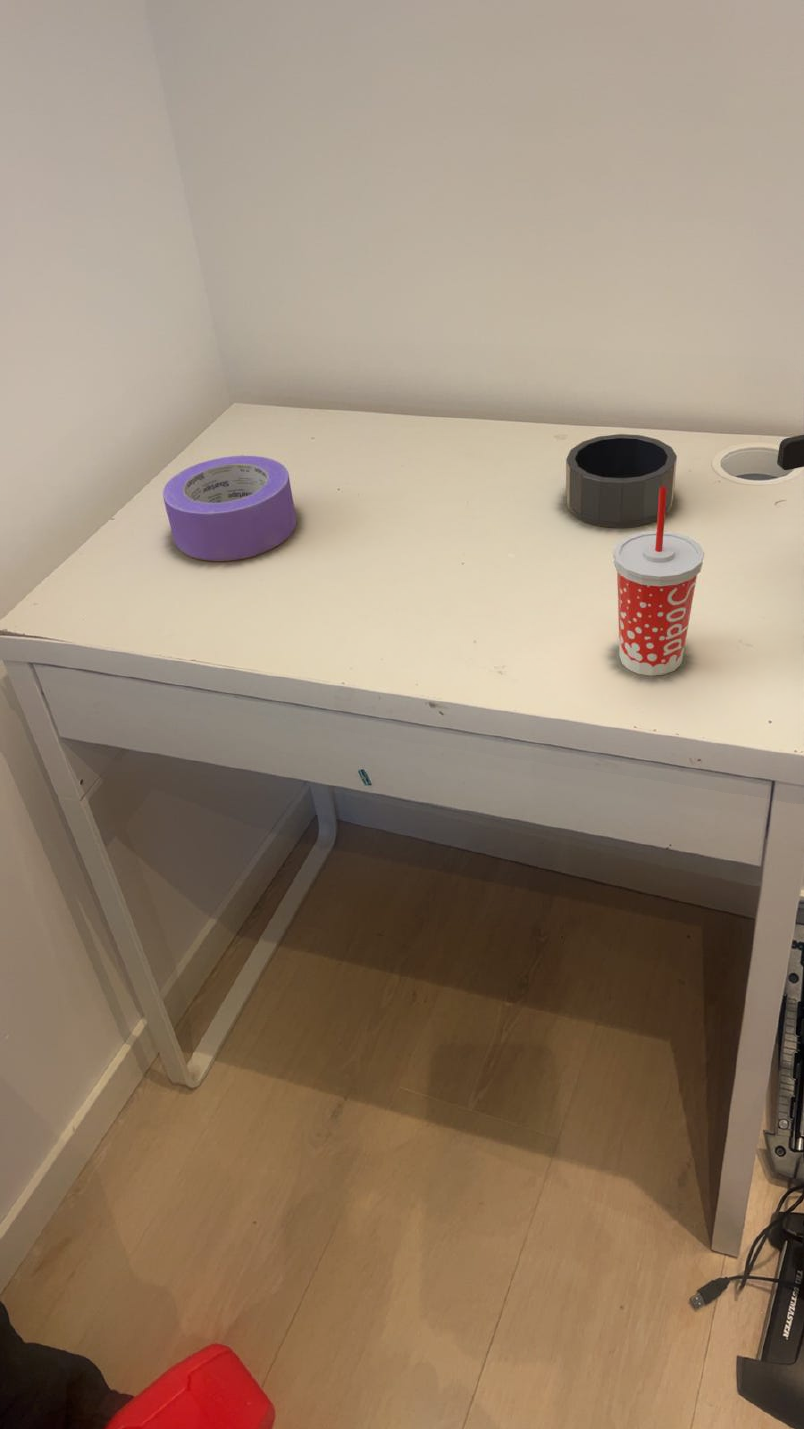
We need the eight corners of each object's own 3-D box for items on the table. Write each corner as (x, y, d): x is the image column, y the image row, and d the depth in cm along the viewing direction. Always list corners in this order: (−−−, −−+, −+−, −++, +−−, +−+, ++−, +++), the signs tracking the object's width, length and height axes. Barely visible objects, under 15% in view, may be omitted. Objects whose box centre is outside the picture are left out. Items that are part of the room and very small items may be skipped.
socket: (657, 473, 100) (660, 429, 97) (684, 521, 92) (689, 475, 90) (558, 484, 100) (558, 440, 97) (577, 533, 92) (578, 487, 90)
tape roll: (228, 492, 105) (218, 445, 102) (321, 513, 100) (313, 465, 97) (149, 547, 98) (135, 499, 95) (244, 573, 92) (233, 523, 89)
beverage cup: (628, 689, 75) (638, 516, 66) (596, 643, 79) (601, 476, 71) (707, 671, 76) (728, 498, 67) (671, 626, 80) (685, 459, 71)
